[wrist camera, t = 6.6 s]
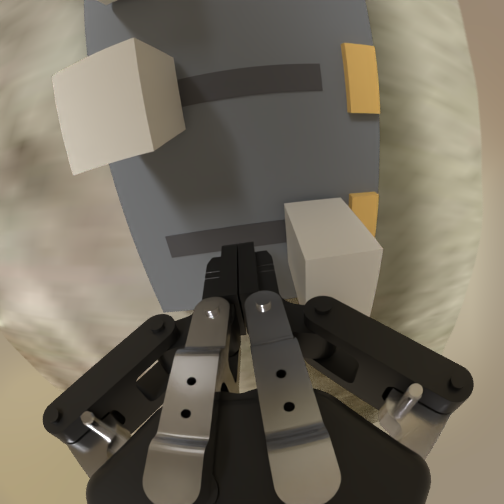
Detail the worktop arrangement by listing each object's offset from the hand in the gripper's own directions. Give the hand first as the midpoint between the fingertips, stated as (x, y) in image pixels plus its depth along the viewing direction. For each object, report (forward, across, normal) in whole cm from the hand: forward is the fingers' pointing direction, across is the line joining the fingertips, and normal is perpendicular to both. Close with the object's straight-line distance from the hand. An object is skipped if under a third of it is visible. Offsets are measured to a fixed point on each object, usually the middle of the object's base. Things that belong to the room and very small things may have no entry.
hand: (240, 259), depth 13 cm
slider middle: (+2, +3, -8) cm, 9 cm away
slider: (+2, -4, 0) cm, 4 cm away
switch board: (+4, -1, -8) cm, 9 cm away
